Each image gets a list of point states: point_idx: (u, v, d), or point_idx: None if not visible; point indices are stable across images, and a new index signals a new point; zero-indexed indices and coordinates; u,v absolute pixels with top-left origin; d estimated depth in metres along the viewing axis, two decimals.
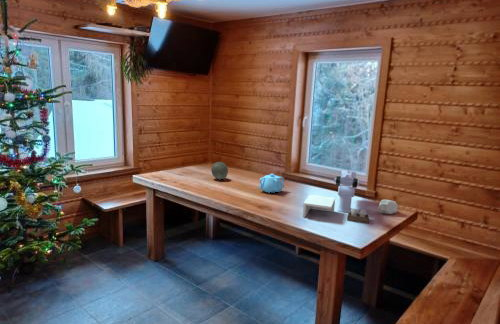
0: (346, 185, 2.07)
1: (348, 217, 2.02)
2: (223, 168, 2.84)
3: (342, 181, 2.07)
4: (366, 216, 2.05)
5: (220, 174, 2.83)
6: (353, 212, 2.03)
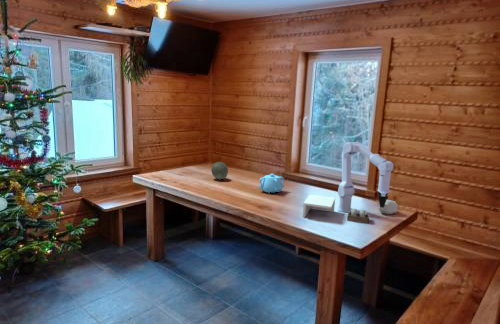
0: None
1: (348, 217, 2.02)
2: (223, 168, 2.84)
3: None
4: (366, 216, 2.05)
5: (220, 174, 2.83)
6: (353, 212, 2.03)
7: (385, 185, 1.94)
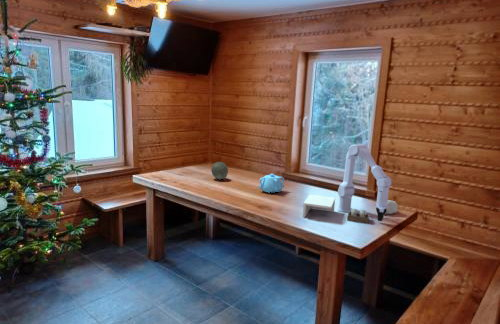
0: None
1: (348, 217, 2.02)
2: (223, 168, 2.84)
3: None
4: (366, 216, 2.05)
5: (220, 174, 2.83)
6: (353, 212, 2.03)
7: (383, 201, 1.95)
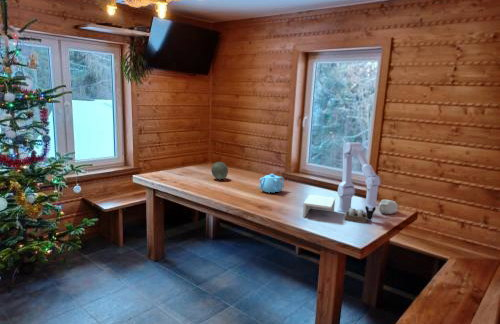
0: (366, 204, 2.01)
1: (346, 217, 2.02)
2: (223, 168, 2.84)
3: None
4: (364, 216, 2.06)
5: (220, 174, 2.83)
6: (351, 212, 2.03)
7: (372, 199, 1.97)
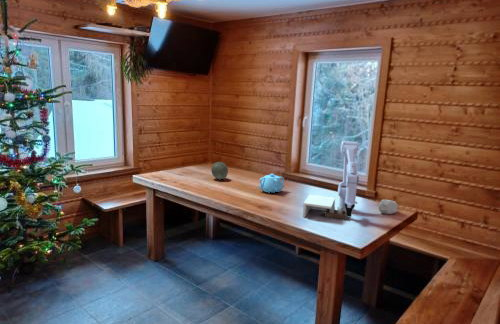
0: None
1: (326, 214, 2.06)
2: (223, 168, 2.84)
3: None
4: (344, 213, 2.09)
5: (220, 174, 2.83)
6: (331, 209, 2.07)
7: (351, 196, 2.01)
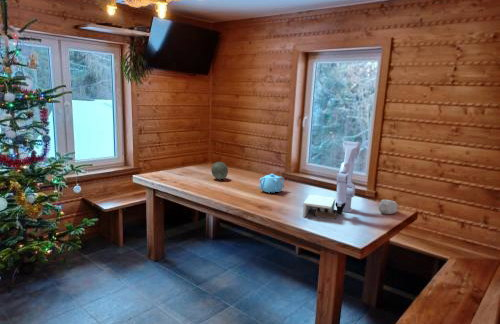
0: None
1: (316, 213, 2.08)
2: (223, 168, 2.84)
3: None
4: (334, 212, 2.11)
5: (220, 174, 2.83)
6: (321, 208, 2.09)
7: (341, 195, 2.03)
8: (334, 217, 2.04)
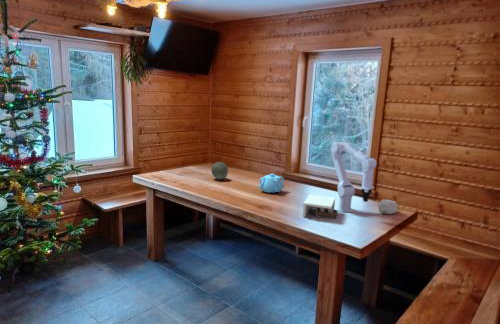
0: None
1: (316, 213, 2.08)
2: (223, 168, 2.84)
3: None
4: (334, 212, 2.11)
5: (220, 174, 2.83)
6: (321, 208, 2.09)
7: (368, 181, 2.01)
8: (334, 217, 2.04)
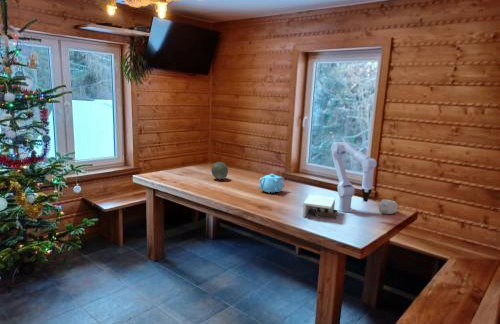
0: None
1: (316, 213, 2.08)
2: (223, 168, 2.84)
3: None
4: (334, 212, 2.11)
5: (220, 174, 2.83)
6: (321, 208, 2.09)
7: (368, 181, 2.01)
8: (334, 217, 2.04)
